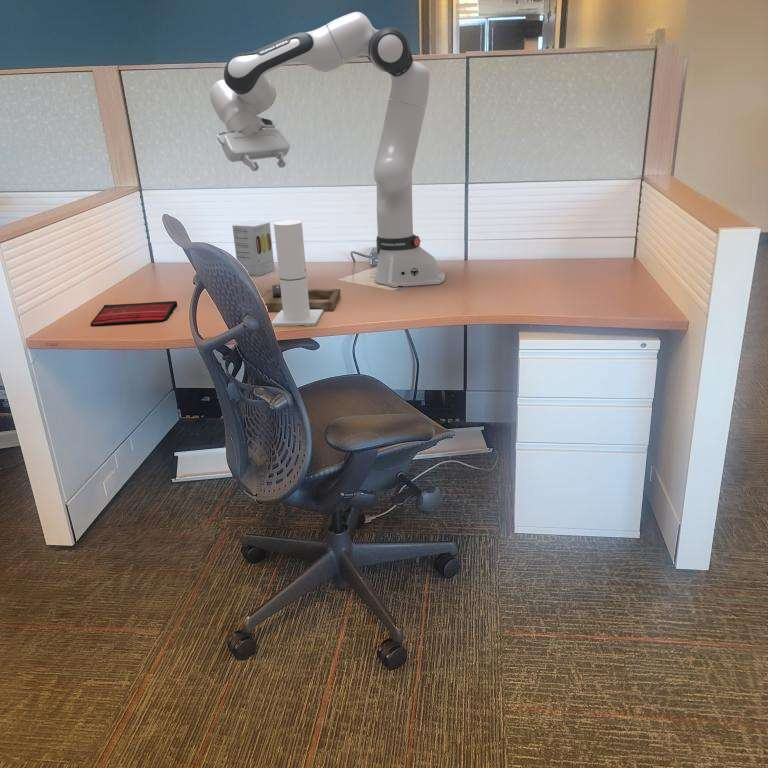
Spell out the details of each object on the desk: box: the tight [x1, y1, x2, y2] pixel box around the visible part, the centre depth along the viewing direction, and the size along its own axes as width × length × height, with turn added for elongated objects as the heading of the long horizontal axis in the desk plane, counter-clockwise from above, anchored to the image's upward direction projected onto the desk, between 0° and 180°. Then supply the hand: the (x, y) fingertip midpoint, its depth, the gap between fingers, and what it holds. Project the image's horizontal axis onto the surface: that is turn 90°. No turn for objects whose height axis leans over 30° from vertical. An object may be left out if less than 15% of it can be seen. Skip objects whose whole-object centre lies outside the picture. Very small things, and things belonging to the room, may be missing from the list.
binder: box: [89, 300, 178, 327], centre depth 192 cm, size 16×2×21 cm
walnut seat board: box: [261, 284, 341, 313], centre depth 195 cm, size 22×14×6 cm, turn 85°
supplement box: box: [231, 220, 276, 277], centre depth 231 cm, size 10×9×17 cm
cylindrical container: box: [273, 219, 310, 320], centre depth 178 cm, size 7×7×25 cm
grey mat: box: [271, 309, 325, 327], centre depth 182 cm, size 12×12×1 cm
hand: (269, 167), depth 190 cm, fingers open, 8 cm apart
